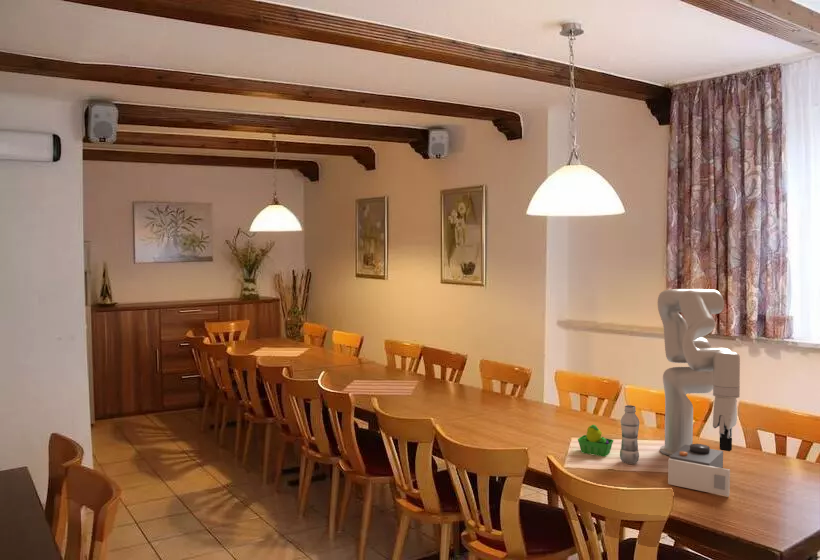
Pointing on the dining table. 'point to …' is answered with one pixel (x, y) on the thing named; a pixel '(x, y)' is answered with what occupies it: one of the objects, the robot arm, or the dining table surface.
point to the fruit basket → (595, 442)
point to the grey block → (699, 455)
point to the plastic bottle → (629, 436)
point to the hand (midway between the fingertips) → (725, 449)
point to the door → (699, 477)
